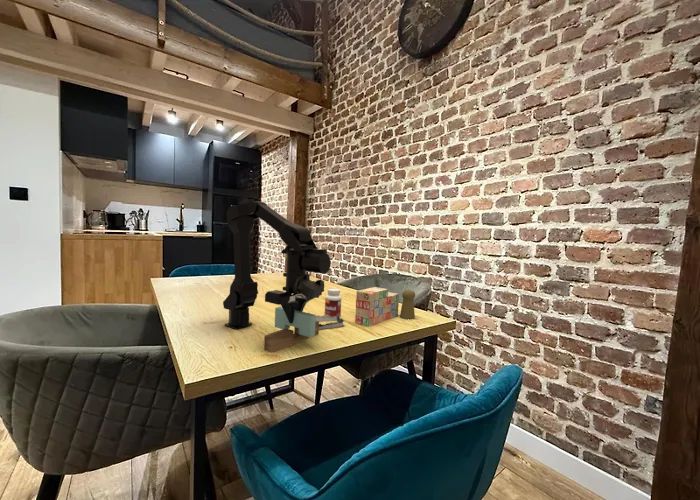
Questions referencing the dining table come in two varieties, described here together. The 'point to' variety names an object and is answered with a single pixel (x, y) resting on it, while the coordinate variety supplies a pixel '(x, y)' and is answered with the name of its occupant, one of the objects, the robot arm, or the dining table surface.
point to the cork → (408, 305)
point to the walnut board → (284, 338)
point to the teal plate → (296, 321)
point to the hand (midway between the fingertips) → (294, 322)
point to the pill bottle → (333, 303)
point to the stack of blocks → (375, 306)
